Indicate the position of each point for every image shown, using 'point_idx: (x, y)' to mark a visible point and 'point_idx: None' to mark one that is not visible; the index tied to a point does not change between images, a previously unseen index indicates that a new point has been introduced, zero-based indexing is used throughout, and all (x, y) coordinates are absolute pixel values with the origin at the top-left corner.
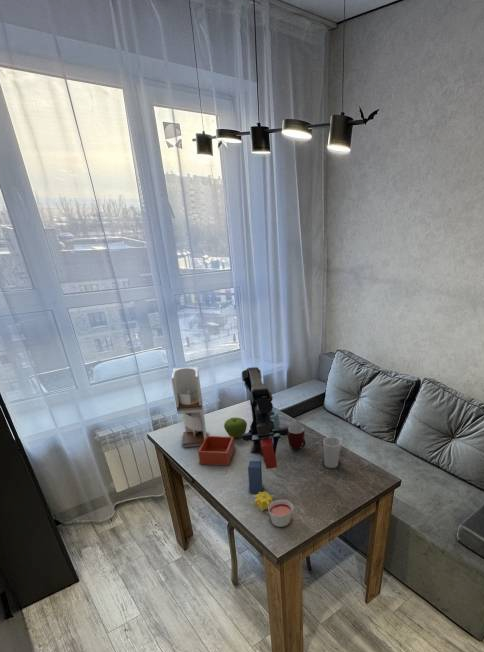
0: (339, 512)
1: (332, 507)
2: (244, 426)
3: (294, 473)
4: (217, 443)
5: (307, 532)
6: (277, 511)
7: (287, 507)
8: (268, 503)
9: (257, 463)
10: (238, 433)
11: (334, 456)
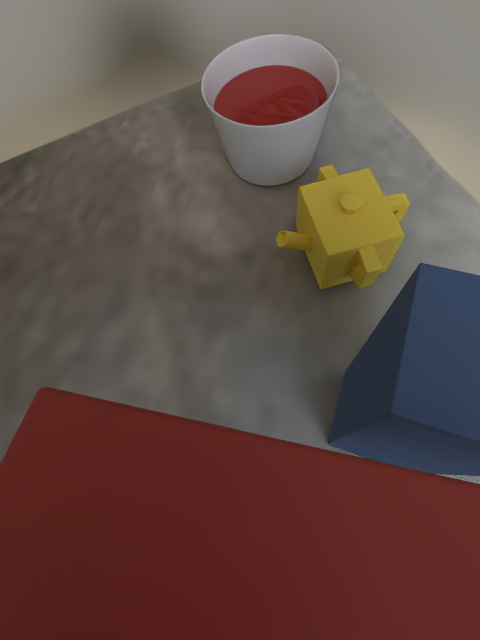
0: (20, 160)
1: (28, 189)
2: None
3: None
4: None
5: (186, 94)
6: (286, 104)
7: (229, 119)
8: (324, 166)
9: (450, 363)
10: None
11: None
